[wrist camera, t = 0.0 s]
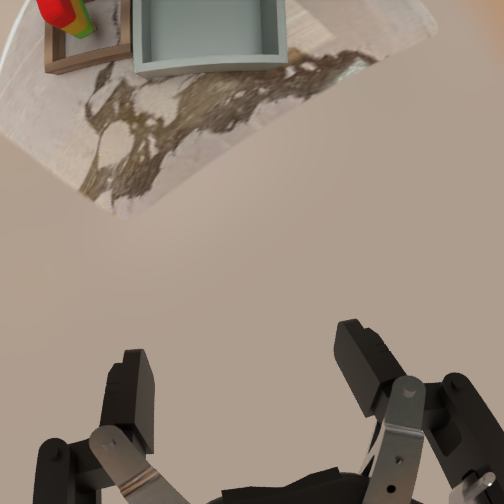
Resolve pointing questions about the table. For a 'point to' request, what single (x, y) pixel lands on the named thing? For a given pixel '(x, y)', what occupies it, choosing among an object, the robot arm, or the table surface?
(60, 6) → the popsicle
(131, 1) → the collar
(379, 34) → the table surface
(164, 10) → the bin
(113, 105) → the table surface
